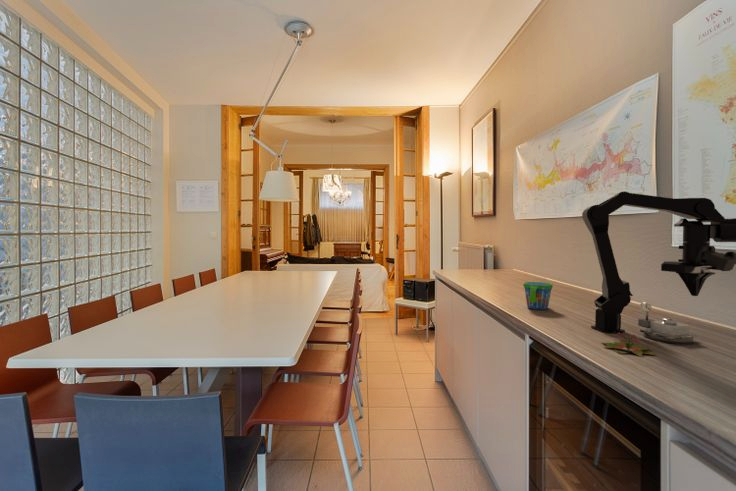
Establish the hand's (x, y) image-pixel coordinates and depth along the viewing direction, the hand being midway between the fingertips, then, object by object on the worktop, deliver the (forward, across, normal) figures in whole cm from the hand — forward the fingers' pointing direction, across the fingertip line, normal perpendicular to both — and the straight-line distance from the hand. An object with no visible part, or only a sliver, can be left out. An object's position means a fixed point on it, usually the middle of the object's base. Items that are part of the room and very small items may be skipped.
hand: (694, 295), depth 100 cm
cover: (+10, -8, +1) cm, 13 cm away
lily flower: (+13, -29, -4) cm, 32 cm away
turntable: (+12, -8, +1) cm, 15 cm away
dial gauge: (+12, 0, +13) cm, 18 cm away
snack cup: (+12, -16, +44) cm, 49 cm away
